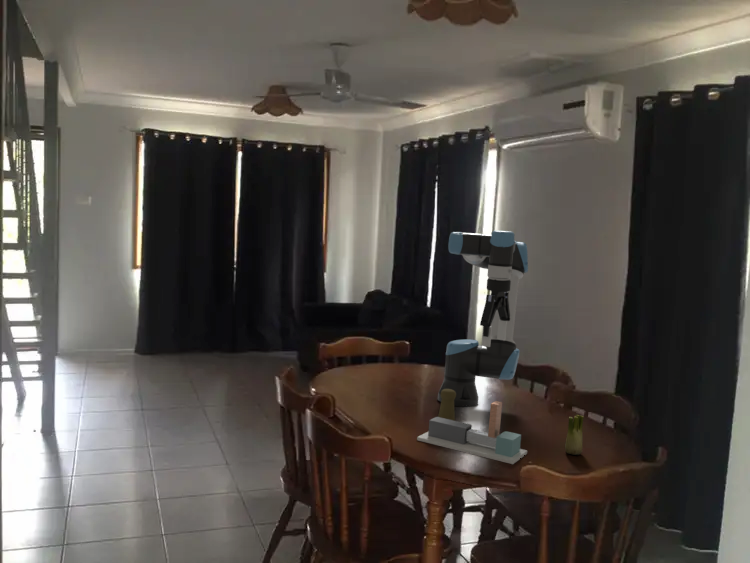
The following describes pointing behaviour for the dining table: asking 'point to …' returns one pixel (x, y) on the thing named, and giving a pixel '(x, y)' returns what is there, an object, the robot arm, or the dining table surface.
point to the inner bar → (494, 428)
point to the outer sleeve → (448, 430)
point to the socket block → (508, 444)
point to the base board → (472, 448)
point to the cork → (447, 404)
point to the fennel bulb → (574, 436)
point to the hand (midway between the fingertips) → (493, 343)
